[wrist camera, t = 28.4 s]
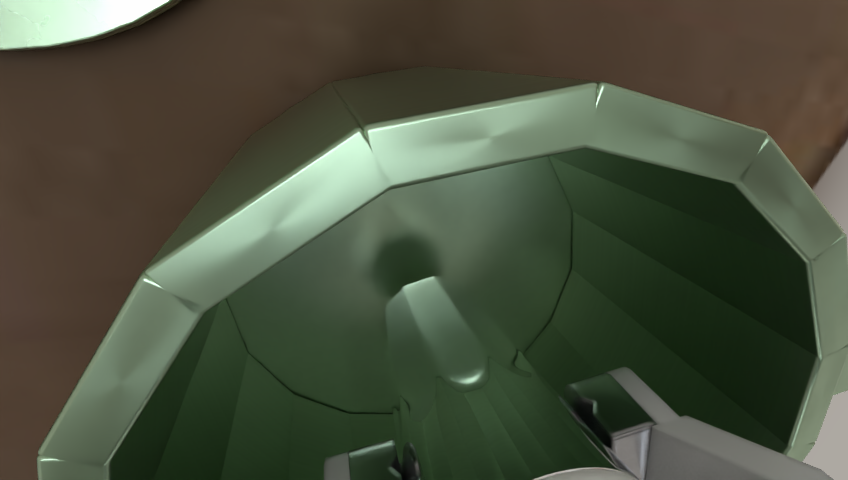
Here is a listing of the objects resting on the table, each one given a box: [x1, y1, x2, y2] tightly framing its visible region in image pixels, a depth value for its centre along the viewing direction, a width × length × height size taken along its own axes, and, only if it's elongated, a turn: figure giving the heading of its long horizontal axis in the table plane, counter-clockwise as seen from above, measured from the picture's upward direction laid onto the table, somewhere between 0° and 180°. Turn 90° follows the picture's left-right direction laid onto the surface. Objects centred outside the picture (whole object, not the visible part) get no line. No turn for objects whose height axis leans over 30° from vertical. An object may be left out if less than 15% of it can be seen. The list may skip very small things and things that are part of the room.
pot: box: [37, 66, 848, 480], centre depth 12 cm, size 15×20×10 cm
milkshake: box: [382, 276, 640, 480], centre depth 10 cm, size 4×5×10 cm
